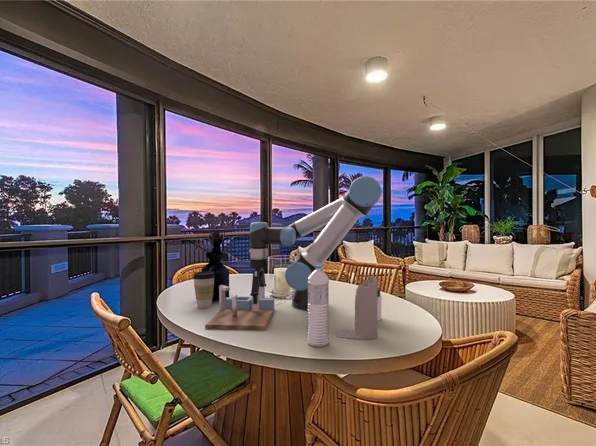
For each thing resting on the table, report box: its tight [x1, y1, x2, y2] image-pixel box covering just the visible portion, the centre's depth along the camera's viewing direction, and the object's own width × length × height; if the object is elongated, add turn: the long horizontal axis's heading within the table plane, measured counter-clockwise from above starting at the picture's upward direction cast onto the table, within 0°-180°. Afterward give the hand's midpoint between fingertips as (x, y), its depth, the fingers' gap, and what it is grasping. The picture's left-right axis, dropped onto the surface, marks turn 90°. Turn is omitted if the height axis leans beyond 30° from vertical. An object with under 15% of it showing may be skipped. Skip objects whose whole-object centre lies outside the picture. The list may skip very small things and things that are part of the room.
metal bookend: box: [336, 275, 378, 340], centre depth 109 cm, size 7×14×20 cm, turn 88°
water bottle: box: [306, 265, 330, 348], centre depth 102 cm, size 7×7×25 cm
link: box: [225, 295, 275, 312], centre depth 139 cm, size 21×7×5 cm, turn 86°
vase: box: [201, 227, 230, 303], centre depth 158 cm, size 14×12×35 cm
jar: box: [377, 287, 382, 322], centre depth 127 cm, size 9×8×12 cm
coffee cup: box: [192, 271, 215, 309], centre depth 145 cm, size 10×10×15 cm
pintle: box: [231, 294, 238, 317], centre depth 126 cm, size 2×2×10 cm
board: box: [204, 309, 274, 331], centre depth 125 cm, size 22×19×2 cm
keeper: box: [218, 285, 231, 312], centre depth 132 cm, size 6×2×12 cm, turn 41°
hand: (258, 306), depth 139 cm, fingers open, 14 cm apart
